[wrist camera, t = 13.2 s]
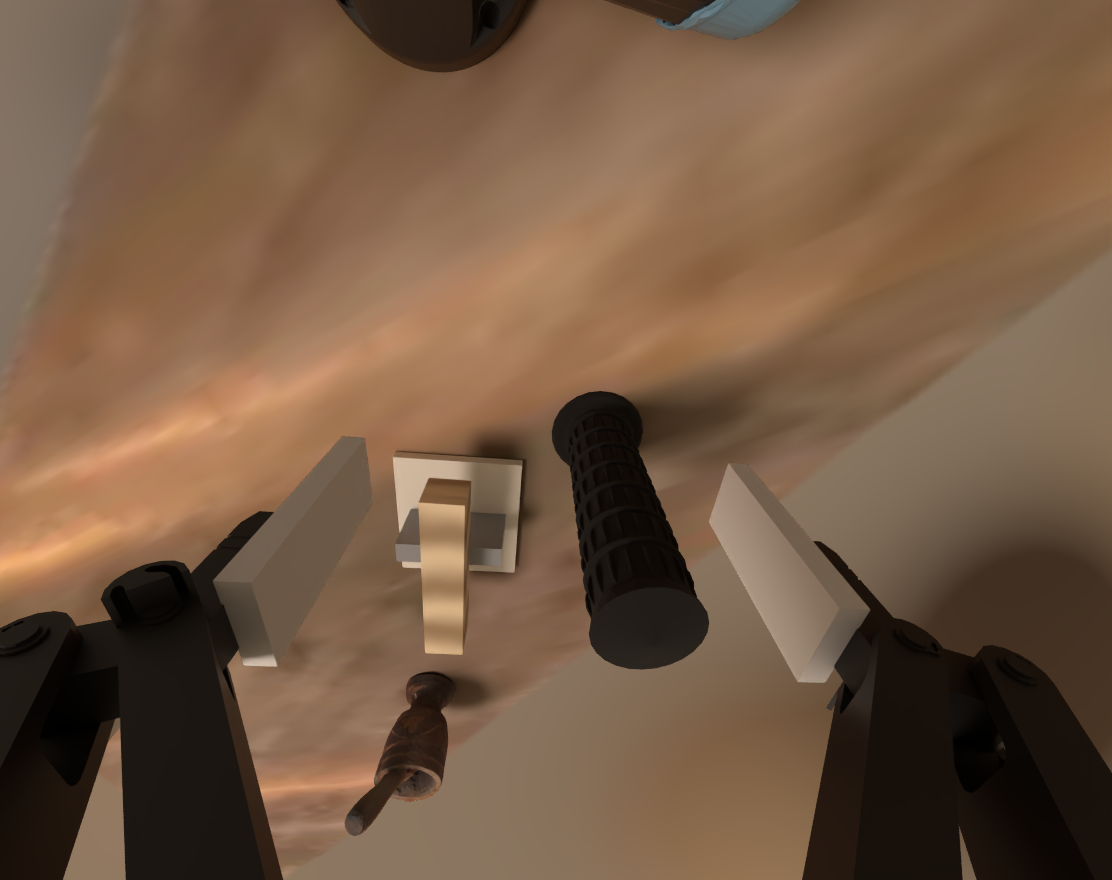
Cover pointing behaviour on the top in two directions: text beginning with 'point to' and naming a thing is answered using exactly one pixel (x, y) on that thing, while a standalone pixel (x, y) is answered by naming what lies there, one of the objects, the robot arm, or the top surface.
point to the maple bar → (445, 563)
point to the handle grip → (625, 539)
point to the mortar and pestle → (409, 752)
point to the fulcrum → (489, 505)
